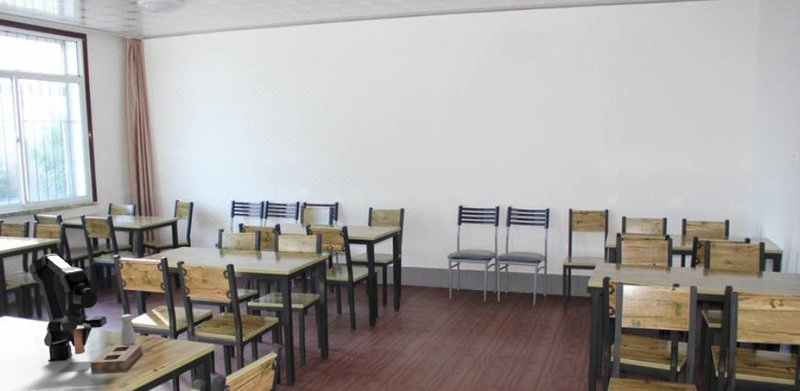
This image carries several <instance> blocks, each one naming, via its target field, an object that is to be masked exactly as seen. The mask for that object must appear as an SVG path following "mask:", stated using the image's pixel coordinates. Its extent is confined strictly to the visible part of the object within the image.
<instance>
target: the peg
mask: <svg viewBox="0 0 800 391" xmlns="http://www.w3.org/2000/svg"><path fill="white" fill-rule="evenodd" d="M82 328H83V327H77V328H76V329H74V330H73V334H74V346H73V347H74V354H75V355H81V354H84V353H85V352H86V347H85V346H83V332H82V330H81V329H82Z"/></svg>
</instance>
